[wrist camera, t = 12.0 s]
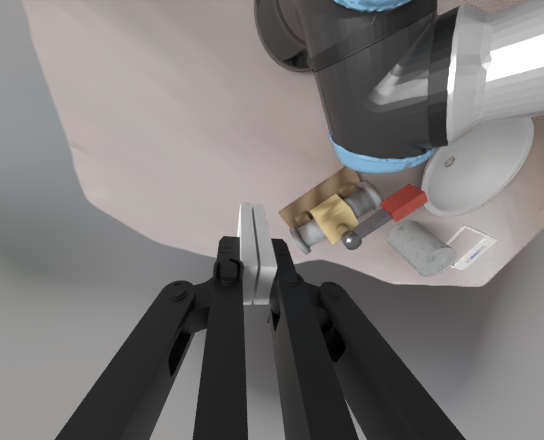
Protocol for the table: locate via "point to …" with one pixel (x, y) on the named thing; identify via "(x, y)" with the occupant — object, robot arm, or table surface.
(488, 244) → the photo frame
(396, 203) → the lever
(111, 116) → the table surface
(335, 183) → the valve stand
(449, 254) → the speckled concrete cylinder
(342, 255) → the table surface
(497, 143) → the sink basin
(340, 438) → the robot arm
